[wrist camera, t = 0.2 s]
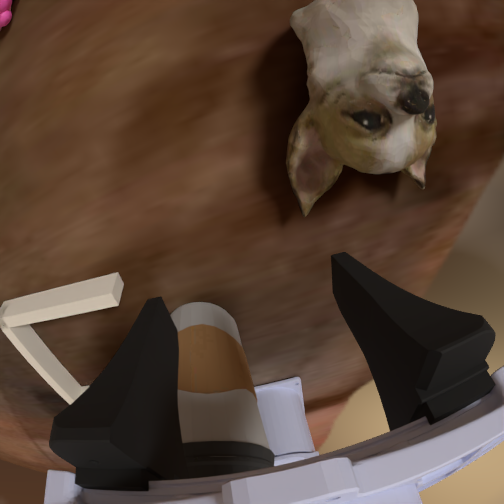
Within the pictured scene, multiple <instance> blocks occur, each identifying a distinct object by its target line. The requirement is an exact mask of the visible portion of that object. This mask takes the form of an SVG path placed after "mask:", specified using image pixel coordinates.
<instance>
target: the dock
mask: <svg viewBox="0 0 504 504" xmlns="http://www.w3.org/2000/svg"><path fill="white" fill-rule="evenodd" d="M123 286H124V283H123V281H122V280H121V278H120V276H119V274H118V272H117V273H113V274H109V275H105V276H101V277H97V278H93V279H89V280H85V281H82V282H78V283H74V284H70V285H66V286H62V287H58V288H54V289H50V290H46V291H42V292H39V293H35V294H31V295H27V296H23V297H19V298H16V299H12V300H8V301H4V302H3V304H2V306H1V308H0V328H1V329H2V331H3V332H4V333H5V335H6V336H7V337H8V338H9V340H10V341H11V342H12V343H13V344H14V346H15V347H16V348H17V349H18V350H19V352H20V353H21V354H22V355H23V356H24V357H25V359H26V360H27V361H28V362H29V363H30V364H31V365H32V366H33V368H34V369H35V370H36V371H37V372H38V373H39V374H40V375H41V376H42V377H43V378H44V379H45V380H46V381H47V383H48V384H49V385H50V386H51V387H52V388H53V389H54V390H55V391H56V392H57V393H58V394H59V395H60V396H61V397H62V398H64V399H65V400H66V401H67V402H68V403H69V404H70V405H71V404H72V403H73V402H74V401H75V400H76V399H77V398H78V397H79V396H80V395H81V394H82V393H83V392H84V391H85V390H86V389H87V388H88V387H89V386H81V385H80V384H79V383H78V382H77V381H76V380H75V379H74V378H73V377H72V376H71V375H70V373H69V372H68V371H67V370H66V369H65V368H64V367H63V366H62V364H61V363H60V362H59V361H58V360H57V359H56V357H55V356H54V355H53V354H52V353H51V351H50V350H49V349H48V348H47V346H46V345H45V344H44V343H43V341H42V340H41V339H40V338H39V336H38V335H37V334H36V332H35V331H34V330H33V328H32V327H31V326H30V324H31V323H36V322H41V321H46V320H51V319H56V318H61V317H66V316H71V315H76V314H81V313H86V312H90V311H95V310H100V309H105V308H109V307H114V306H119V302H120V298H121V294H122V290H123Z"/></svg>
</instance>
